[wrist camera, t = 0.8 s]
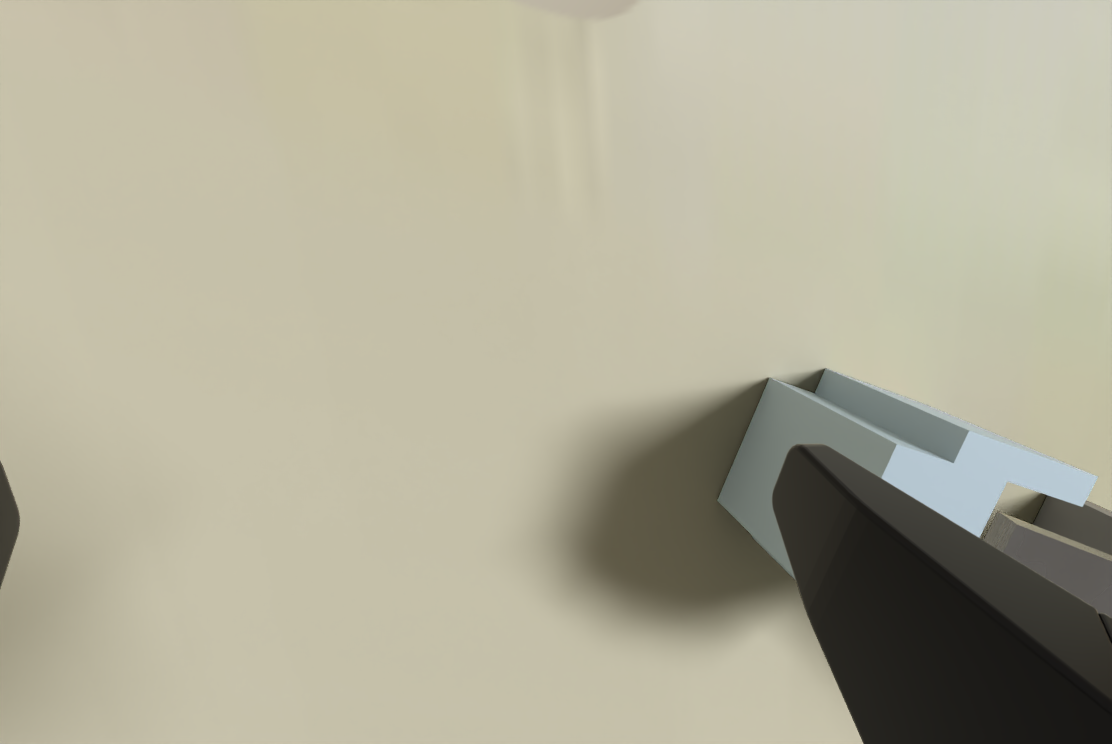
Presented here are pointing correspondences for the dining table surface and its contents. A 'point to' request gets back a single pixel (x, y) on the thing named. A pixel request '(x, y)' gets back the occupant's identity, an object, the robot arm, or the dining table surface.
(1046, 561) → the lever
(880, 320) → the dining table surface
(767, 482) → the lever frame
